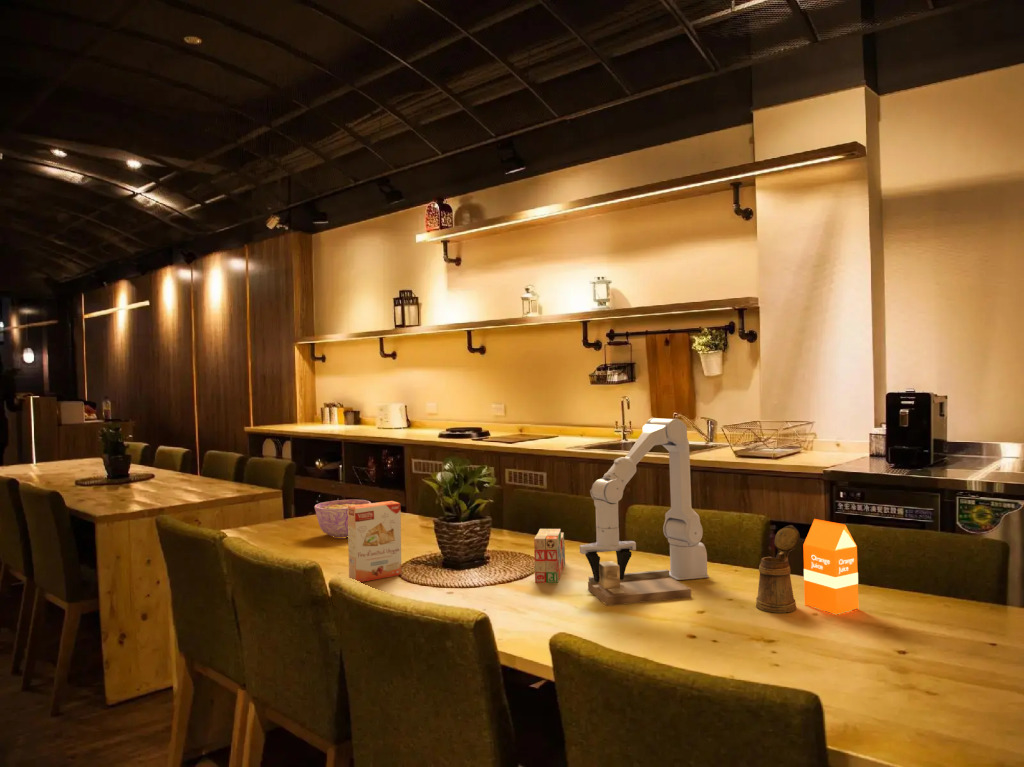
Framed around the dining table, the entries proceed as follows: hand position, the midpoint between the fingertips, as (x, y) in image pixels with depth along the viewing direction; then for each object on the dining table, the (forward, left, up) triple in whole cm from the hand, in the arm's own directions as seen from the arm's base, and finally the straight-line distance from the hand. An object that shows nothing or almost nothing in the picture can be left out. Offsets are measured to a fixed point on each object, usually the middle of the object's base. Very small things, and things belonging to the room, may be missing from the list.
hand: (608, 579), depth 184 cm
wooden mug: (-35, +21, -4) cm, 41 cm away
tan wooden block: (0, 0, -1) cm, 1 cm away
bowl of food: (+66, -96, -4) cm, 116 cm away
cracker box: (+57, -35, -4) cm, 67 cm away
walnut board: (-7, +2, -3) cm, 8 cm away
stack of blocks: (+8, -24, -4) cm, 26 cm away
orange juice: (-45, +26, -4) cm, 52 cm away
